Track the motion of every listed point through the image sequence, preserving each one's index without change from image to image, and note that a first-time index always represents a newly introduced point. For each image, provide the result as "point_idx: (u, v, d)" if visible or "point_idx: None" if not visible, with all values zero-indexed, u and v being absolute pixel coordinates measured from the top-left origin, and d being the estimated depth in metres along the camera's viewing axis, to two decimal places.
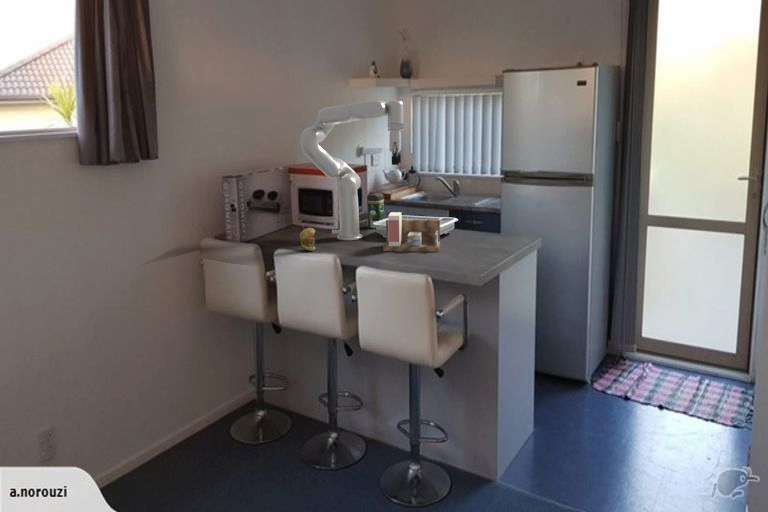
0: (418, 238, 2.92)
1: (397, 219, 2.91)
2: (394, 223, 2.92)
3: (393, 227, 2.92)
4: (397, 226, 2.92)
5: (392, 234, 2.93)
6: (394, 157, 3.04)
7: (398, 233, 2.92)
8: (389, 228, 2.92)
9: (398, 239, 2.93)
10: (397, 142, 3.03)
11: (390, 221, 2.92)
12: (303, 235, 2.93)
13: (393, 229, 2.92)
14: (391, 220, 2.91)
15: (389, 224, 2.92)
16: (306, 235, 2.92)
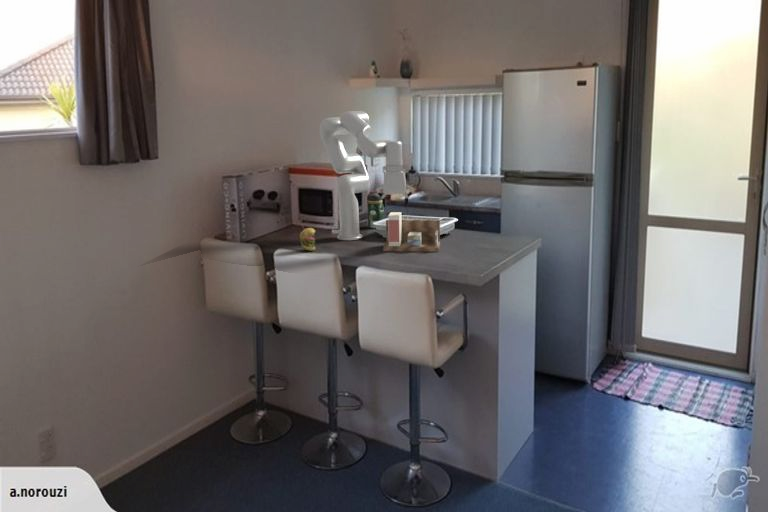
0: (418, 238, 2.92)
1: (397, 219, 2.91)
2: (394, 223, 2.92)
3: (393, 227, 2.92)
4: (397, 226, 2.92)
5: (392, 234, 2.93)
6: None
7: (398, 233, 2.92)
8: (389, 228, 2.92)
9: (398, 239, 2.93)
10: None
11: (390, 221, 2.92)
12: (303, 235, 2.93)
13: (393, 229, 2.92)
14: (391, 220, 2.91)
15: (389, 224, 2.92)
16: (306, 235, 2.92)
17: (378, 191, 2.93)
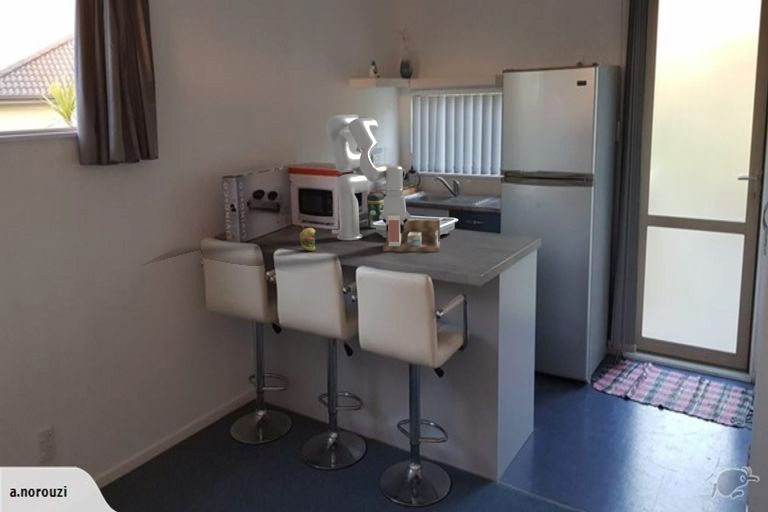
0: (418, 238, 2.92)
1: (397, 219, 2.91)
2: (394, 223, 2.92)
3: (393, 227, 2.92)
4: (397, 226, 2.92)
5: (392, 234, 2.93)
6: (403, 225, 2.96)
7: (398, 233, 2.92)
8: (389, 228, 2.92)
9: (398, 239, 2.93)
10: None
11: (390, 221, 2.92)
12: (303, 235, 2.93)
13: (393, 229, 2.92)
14: (391, 220, 2.91)
15: (389, 224, 2.92)
16: (306, 235, 2.92)
17: (382, 218, 2.96)
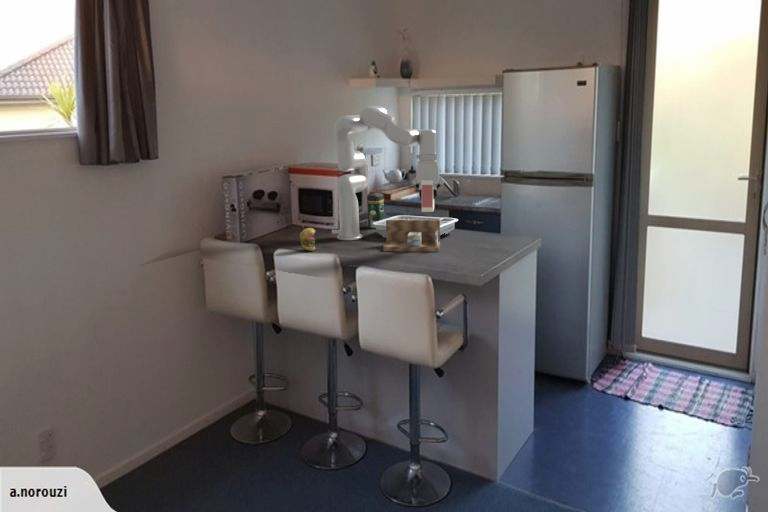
0: (418, 238, 2.92)
1: (431, 184, 2.85)
2: (427, 188, 2.86)
3: (426, 192, 2.86)
4: (430, 191, 2.86)
5: (425, 199, 2.87)
6: (436, 190, 2.90)
7: (431, 198, 2.87)
8: (422, 193, 2.87)
9: (431, 204, 2.87)
10: None
11: (423, 186, 2.86)
12: (303, 235, 2.93)
13: (427, 194, 2.86)
14: (424, 185, 2.86)
15: (422, 189, 2.86)
16: (306, 235, 2.92)
17: (414, 183, 2.90)
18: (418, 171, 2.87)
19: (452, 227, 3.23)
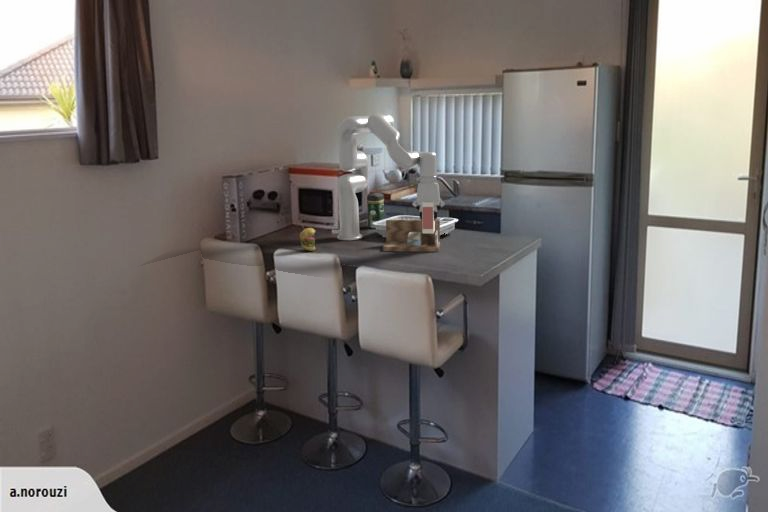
0: (418, 238, 2.92)
1: (431, 206, 2.87)
2: (428, 210, 2.88)
3: (426, 214, 2.88)
4: (431, 213, 2.88)
5: (425, 221, 2.89)
6: None
7: (432, 220, 2.89)
8: (423, 215, 2.89)
9: (432, 226, 2.89)
10: None
11: (423, 208, 2.88)
12: (303, 235, 2.93)
13: (427, 216, 2.89)
14: (425, 207, 2.88)
15: (423, 211, 2.88)
16: (306, 235, 2.92)
17: (415, 205, 2.92)
18: (419, 193, 2.89)
19: (452, 227, 3.23)
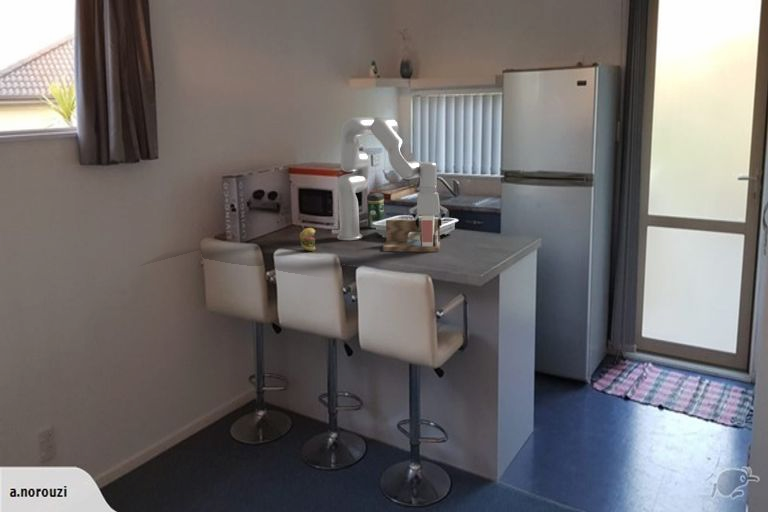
0: (418, 238, 2.92)
1: (431, 219, 2.89)
2: (427, 223, 2.89)
3: (426, 227, 2.90)
4: (430, 226, 2.90)
5: (425, 234, 2.91)
6: None
7: (431, 233, 2.90)
8: (422, 228, 2.90)
9: (431, 239, 2.91)
10: (439, 204, 2.92)
11: (423, 221, 2.90)
12: (303, 235, 2.93)
13: (427, 229, 2.90)
14: (424, 220, 2.89)
15: (422, 224, 2.90)
16: (306, 235, 2.92)
17: (411, 212, 2.93)
18: (419, 203, 2.90)
19: (452, 227, 3.23)
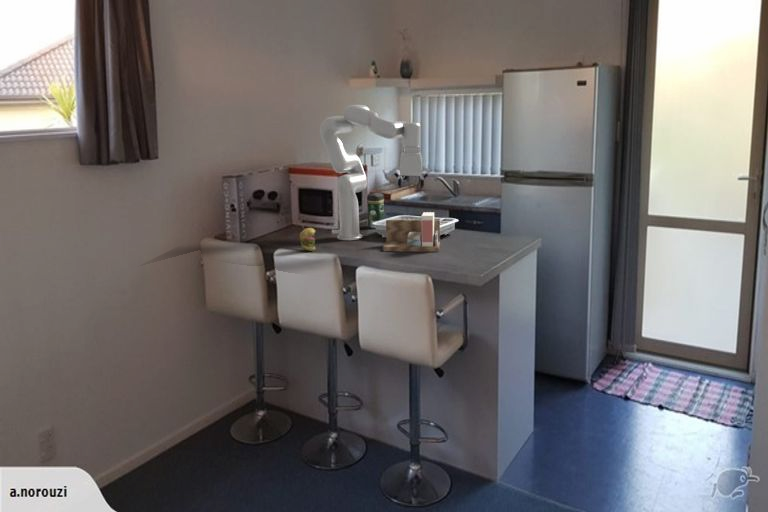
0: (418, 238, 2.92)
1: (431, 219, 2.89)
2: (427, 223, 2.89)
3: (426, 227, 2.90)
4: (430, 226, 2.90)
5: (425, 234, 2.91)
6: (423, 180, 2.95)
7: (431, 233, 2.90)
8: (422, 228, 2.90)
9: (431, 239, 2.91)
10: None
11: (423, 221, 2.90)
12: (303, 235, 2.93)
13: (427, 229, 2.90)
14: (424, 220, 2.89)
15: (422, 224, 2.90)
16: (306, 235, 2.92)
17: (394, 171, 2.96)
18: (401, 163, 2.92)
19: (452, 227, 3.22)
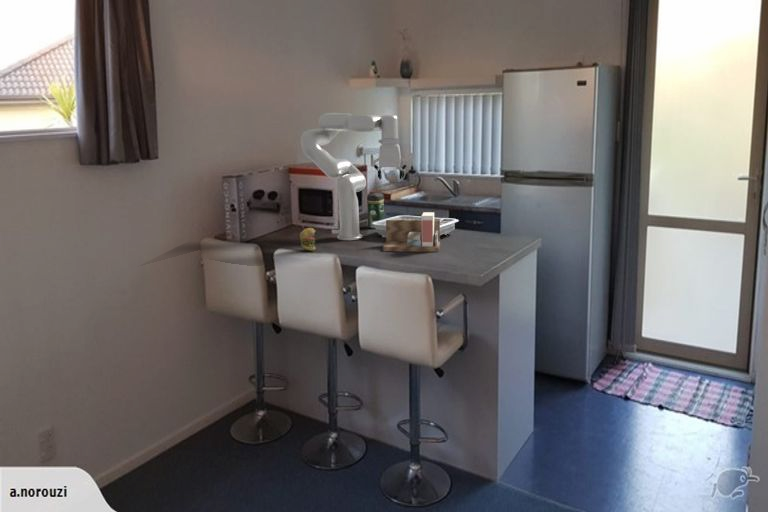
0: (418, 238, 2.92)
1: (431, 219, 2.89)
2: (427, 223, 2.89)
3: (426, 227, 2.90)
4: (430, 226, 2.90)
5: (425, 234, 2.91)
6: (402, 171, 3.03)
7: (431, 233, 2.90)
8: (422, 228, 2.90)
9: (431, 239, 2.91)
10: (400, 156, 3.03)
11: (423, 221, 2.90)
12: (303, 235, 2.93)
13: (427, 229, 2.90)
14: (424, 220, 2.89)
15: (422, 224, 2.90)
16: (306, 235, 2.92)
17: (374, 164, 3.04)
18: (380, 155, 3.00)
19: (452, 228, 3.22)
